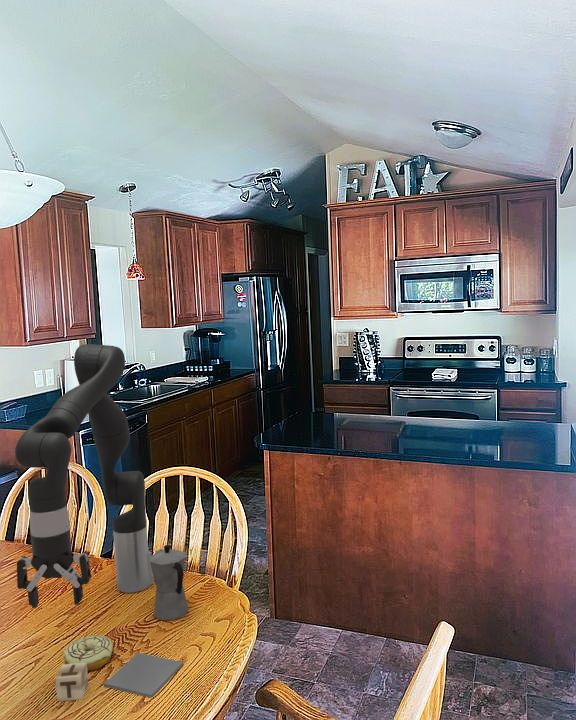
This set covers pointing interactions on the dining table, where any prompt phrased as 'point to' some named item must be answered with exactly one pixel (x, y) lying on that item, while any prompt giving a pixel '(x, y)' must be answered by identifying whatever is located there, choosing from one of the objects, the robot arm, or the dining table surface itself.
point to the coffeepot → (169, 583)
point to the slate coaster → (144, 674)
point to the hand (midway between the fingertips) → (56, 604)
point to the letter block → (72, 681)
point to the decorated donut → (89, 651)
